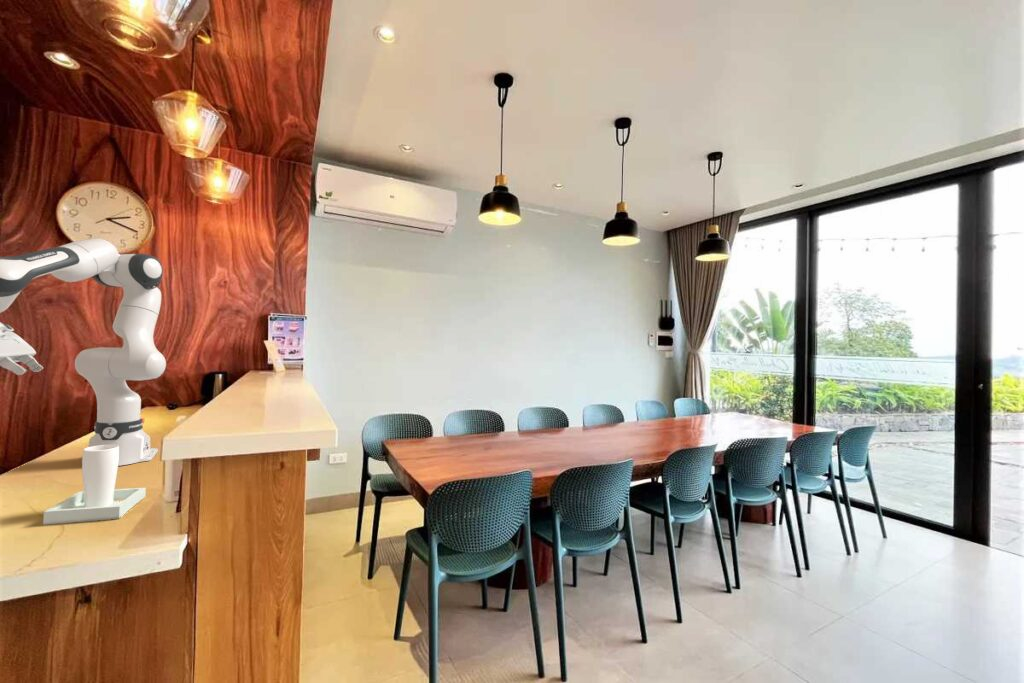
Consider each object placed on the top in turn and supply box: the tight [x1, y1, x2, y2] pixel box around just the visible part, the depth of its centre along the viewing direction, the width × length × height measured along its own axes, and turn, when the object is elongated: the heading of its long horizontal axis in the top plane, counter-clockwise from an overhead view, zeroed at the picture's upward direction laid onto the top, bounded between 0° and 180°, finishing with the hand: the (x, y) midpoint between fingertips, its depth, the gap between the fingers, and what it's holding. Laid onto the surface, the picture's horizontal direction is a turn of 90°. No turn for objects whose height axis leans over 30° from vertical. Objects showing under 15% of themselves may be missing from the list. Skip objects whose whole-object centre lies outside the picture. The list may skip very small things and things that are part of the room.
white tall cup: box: [81, 445, 119, 508], centre depth 110 cm, size 7×7×15 cm
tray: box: [42, 487, 147, 526], centre depth 109 cm, size 14×14×3 cm
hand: (31, 371), depth 115 cm, fingers open, 8 cm apart
